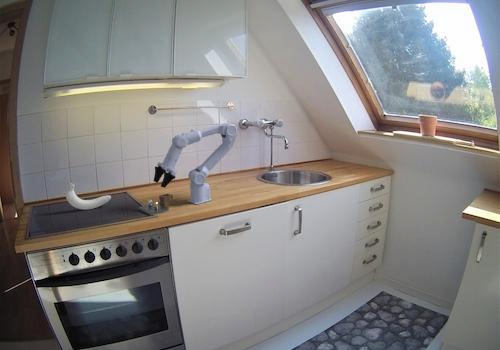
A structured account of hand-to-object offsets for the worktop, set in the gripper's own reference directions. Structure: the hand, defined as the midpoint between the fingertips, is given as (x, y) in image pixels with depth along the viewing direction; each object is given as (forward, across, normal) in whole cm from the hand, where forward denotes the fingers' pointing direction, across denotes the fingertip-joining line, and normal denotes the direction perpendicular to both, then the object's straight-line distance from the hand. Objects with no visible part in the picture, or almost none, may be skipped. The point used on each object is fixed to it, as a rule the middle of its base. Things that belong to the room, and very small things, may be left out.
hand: (159, 184), depth 154 cm
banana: (+26, -21, -15) cm, 36 cm away
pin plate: (+12, +3, +2) cm, 12 cm away
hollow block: (+8, 0, +9) cm, 12 cm away
